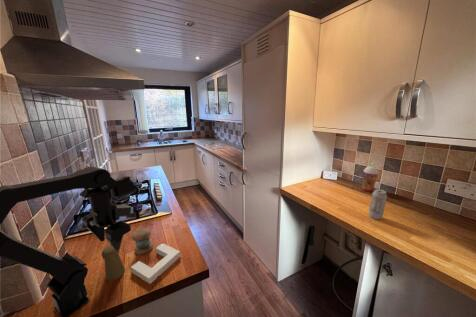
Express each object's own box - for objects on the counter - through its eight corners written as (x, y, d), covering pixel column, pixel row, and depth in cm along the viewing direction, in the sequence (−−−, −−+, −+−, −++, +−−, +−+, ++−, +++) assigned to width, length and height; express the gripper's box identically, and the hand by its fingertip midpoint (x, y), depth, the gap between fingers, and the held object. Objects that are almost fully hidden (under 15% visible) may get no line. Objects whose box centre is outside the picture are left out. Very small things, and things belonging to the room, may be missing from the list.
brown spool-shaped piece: (141, 257, 77) (139, 241, 75) (131, 250, 80) (128, 235, 78) (156, 246, 83) (154, 231, 81) (145, 240, 86) (143, 226, 84)
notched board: (150, 284, 65) (149, 278, 65) (131, 272, 70) (130, 267, 69) (180, 256, 77) (179, 251, 76) (163, 248, 82) (162, 243, 81)
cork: (121, 263, 74) (115, 239, 71) (127, 272, 70) (122, 246, 67) (103, 274, 69) (96, 248, 66) (109, 283, 66) (102, 257, 63)
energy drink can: (384, 219, 100) (390, 192, 96) (376, 221, 98) (381, 194, 94) (373, 213, 105) (379, 188, 101) (365, 215, 104) (370, 189, 100)
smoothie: (357, 188, 136) (361, 161, 131) (366, 186, 138) (371, 160, 133) (368, 193, 128) (373, 164, 123) (377, 191, 131) (383, 163, 125)
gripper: (142, 200, 65) (148, 240, 69) (111, 190, 74) (117, 225, 78) (107, 216, 56) (116, 261, 60) (76, 202, 65) (86, 241, 69)
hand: (110, 245), depth 67 cm, fingers open, 9 cm apart
